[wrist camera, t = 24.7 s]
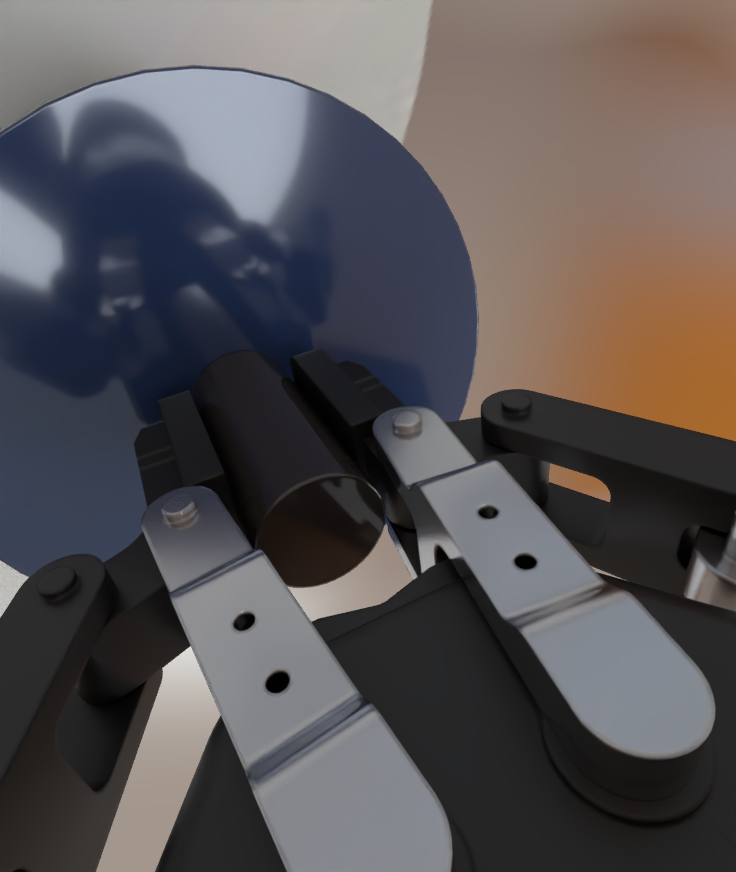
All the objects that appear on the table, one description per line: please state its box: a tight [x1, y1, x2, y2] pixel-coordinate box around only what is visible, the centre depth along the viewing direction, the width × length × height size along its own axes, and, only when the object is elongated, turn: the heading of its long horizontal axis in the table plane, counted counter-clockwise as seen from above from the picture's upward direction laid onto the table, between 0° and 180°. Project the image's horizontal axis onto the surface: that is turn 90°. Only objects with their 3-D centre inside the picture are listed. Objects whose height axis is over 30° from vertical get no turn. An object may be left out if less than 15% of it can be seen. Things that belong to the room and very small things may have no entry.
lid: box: [0, 65, 479, 588], centre depth 12 cm, size 14×14×7 cm
